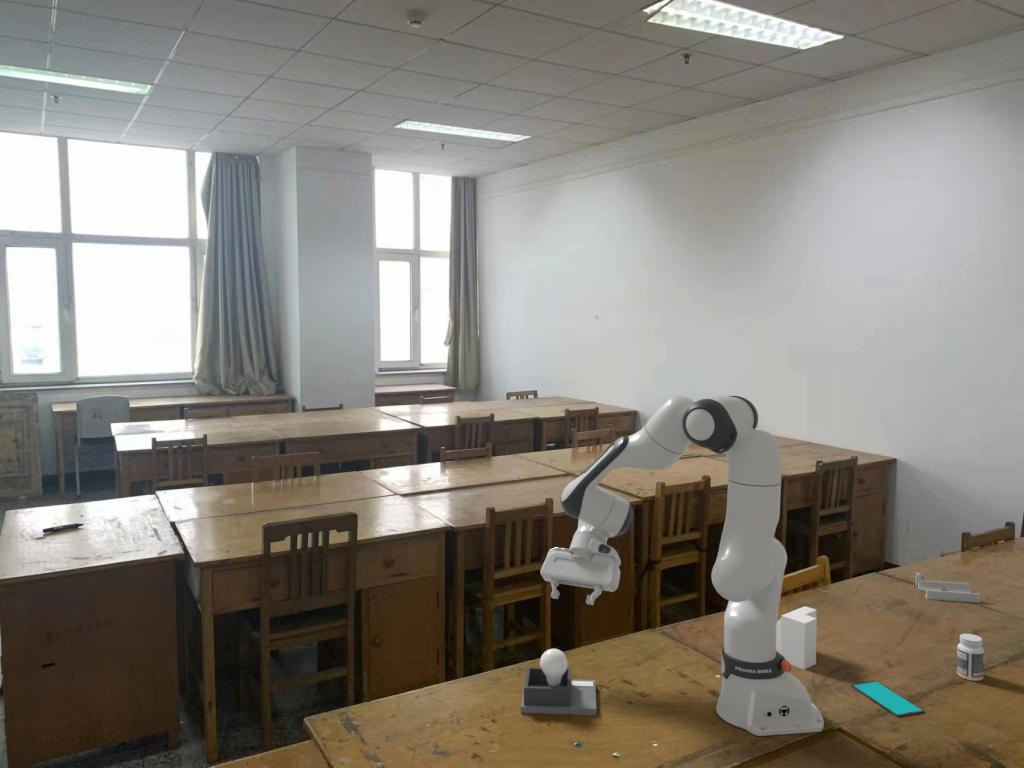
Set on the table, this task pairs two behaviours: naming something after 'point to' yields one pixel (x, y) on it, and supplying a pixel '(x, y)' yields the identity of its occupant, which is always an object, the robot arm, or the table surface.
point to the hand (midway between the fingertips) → (571, 600)
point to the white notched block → (798, 637)
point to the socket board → (557, 694)
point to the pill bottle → (970, 657)
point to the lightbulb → (553, 666)
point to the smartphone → (887, 699)
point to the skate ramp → (954, 589)
